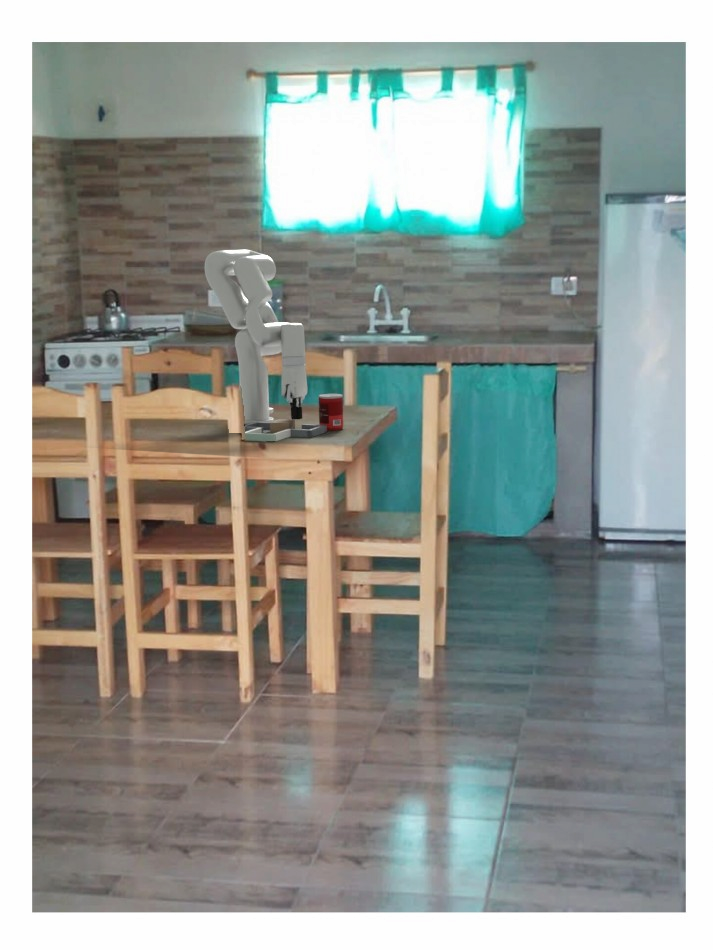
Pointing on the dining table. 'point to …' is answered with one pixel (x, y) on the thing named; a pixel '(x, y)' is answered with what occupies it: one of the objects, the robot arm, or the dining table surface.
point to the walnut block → (281, 425)
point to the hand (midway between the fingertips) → (296, 418)
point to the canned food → (331, 411)
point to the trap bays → (306, 430)
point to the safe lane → (266, 435)
